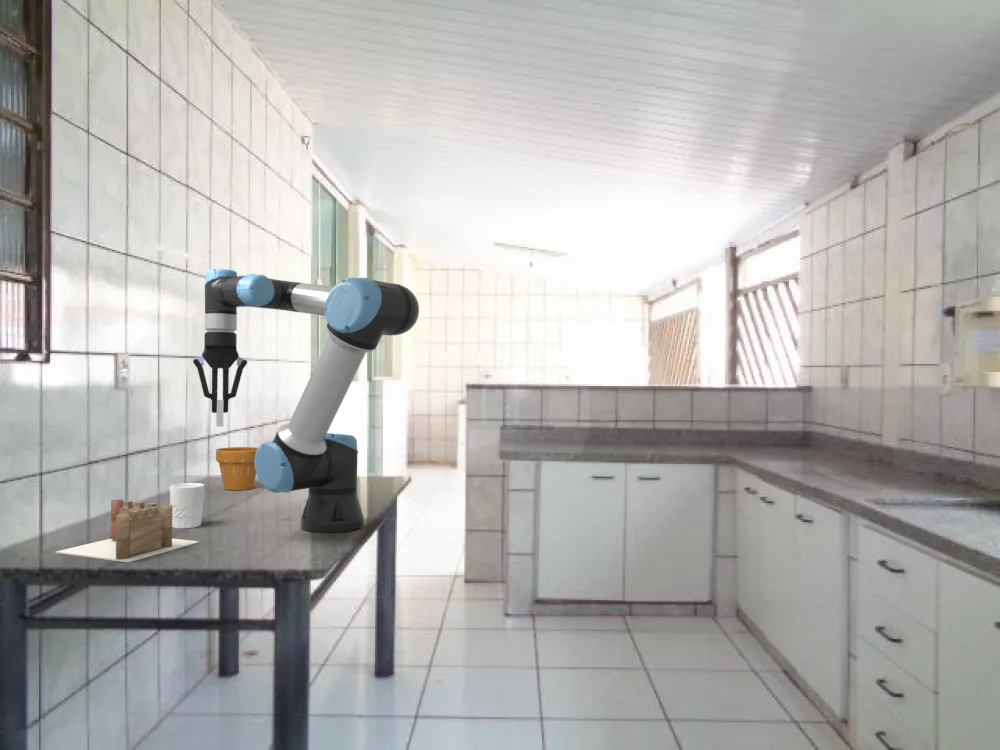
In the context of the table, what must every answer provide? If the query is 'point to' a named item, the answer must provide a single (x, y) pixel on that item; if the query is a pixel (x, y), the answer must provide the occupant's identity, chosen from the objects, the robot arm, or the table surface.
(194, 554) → the table surface
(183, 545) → the card
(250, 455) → the flower pot
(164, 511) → the wooden castle wall
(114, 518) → the swing panel
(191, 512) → the white cup
